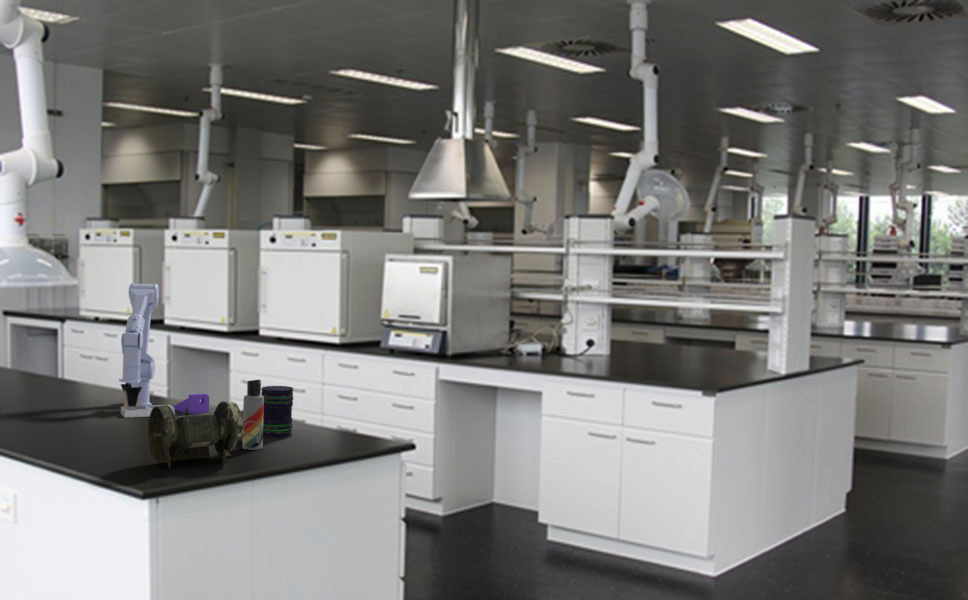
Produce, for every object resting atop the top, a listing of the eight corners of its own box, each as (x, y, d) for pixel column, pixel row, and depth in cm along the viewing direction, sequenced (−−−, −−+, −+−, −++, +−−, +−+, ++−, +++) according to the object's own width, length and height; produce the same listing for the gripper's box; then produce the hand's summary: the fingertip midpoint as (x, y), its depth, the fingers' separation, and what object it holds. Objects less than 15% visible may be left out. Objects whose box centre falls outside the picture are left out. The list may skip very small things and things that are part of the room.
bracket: (208, 413, 331) (209, 393, 331) (191, 414, 326) (191, 395, 326) (190, 408, 339) (191, 389, 339) (173, 410, 334) (173, 391, 334)
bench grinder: (250, 455, 247) (242, 382, 254) (164, 458, 234) (159, 382, 241) (223, 475, 262) (216, 406, 269) (141, 479, 249) (136, 406, 256)
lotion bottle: (252, 450, 269) (254, 381, 268) (237, 448, 272) (239, 379, 271) (266, 448, 274) (268, 379, 273) (252, 445, 277) (254, 377, 276)
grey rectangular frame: (120, 413, 321) (121, 406, 321) (169, 411, 329) (169, 404, 329) (124, 417, 314) (125, 410, 314) (174, 415, 322) (174, 408, 322)
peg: (123, 410, 328) (124, 390, 328) (135, 409, 330) (136, 390, 330) (125, 412, 325) (125, 392, 325) (137, 411, 327) (138, 391, 327)
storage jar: (281, 431, 299) (282, 385, 299) (298, 436, 292) (299, 388, 292) (253, 435, 292) (254, 387, 292) (270, 440, 285) (271, 391, 285)
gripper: (115, 364, 331) (115, 402, 332) (122, 369, 319) (121, 409, 319) (137, 363, 335) (136, 402, 335) (144, 368, 322) (143, 408, 323)
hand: (130, 405), depth 327 cm, fingers open, 5 cm apart
